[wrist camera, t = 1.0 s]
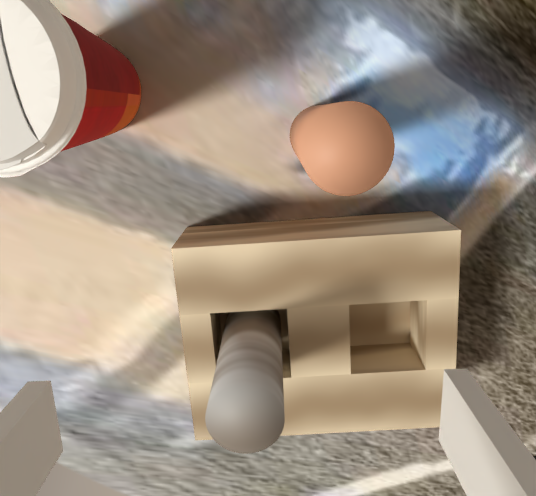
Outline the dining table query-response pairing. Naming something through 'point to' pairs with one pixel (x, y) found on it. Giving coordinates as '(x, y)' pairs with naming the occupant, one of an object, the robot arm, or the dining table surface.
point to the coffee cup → (57, 86)
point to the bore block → (317, 325)
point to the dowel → (343, 146)
